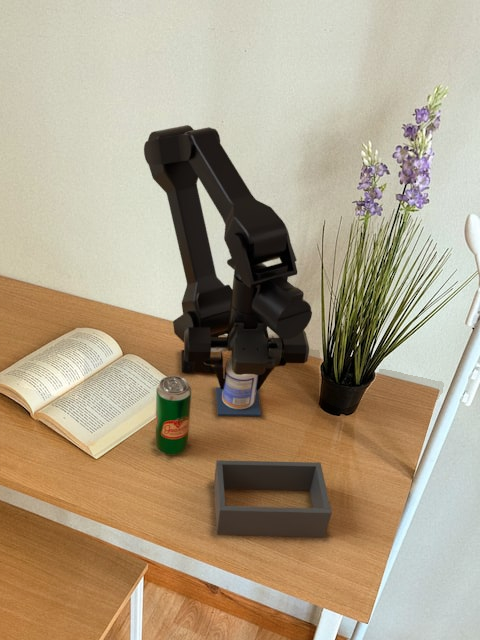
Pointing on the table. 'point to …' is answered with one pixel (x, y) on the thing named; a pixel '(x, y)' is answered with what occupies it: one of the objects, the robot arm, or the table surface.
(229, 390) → the pill bottle
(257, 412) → the mat
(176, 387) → the soda can
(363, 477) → the table surface
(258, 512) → the tub
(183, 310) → the robot arm
